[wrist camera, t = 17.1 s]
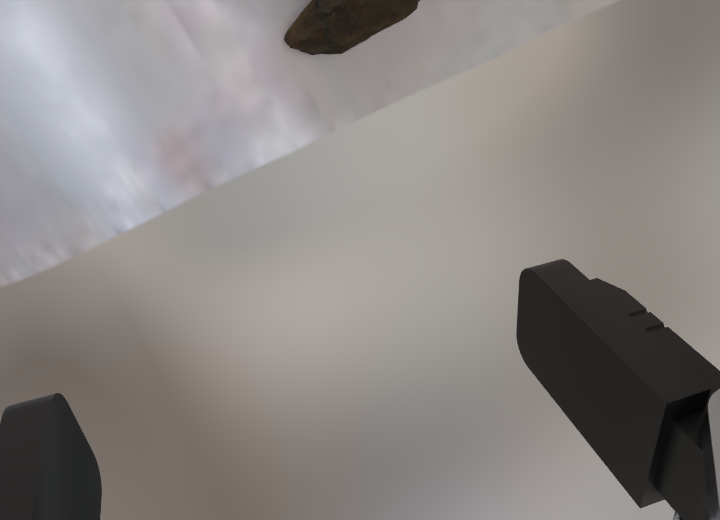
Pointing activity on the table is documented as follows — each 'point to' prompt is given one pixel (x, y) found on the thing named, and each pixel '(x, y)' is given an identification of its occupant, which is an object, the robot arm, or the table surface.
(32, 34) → the table surface
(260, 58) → the table surface
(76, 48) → the table surface
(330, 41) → the hand tool
